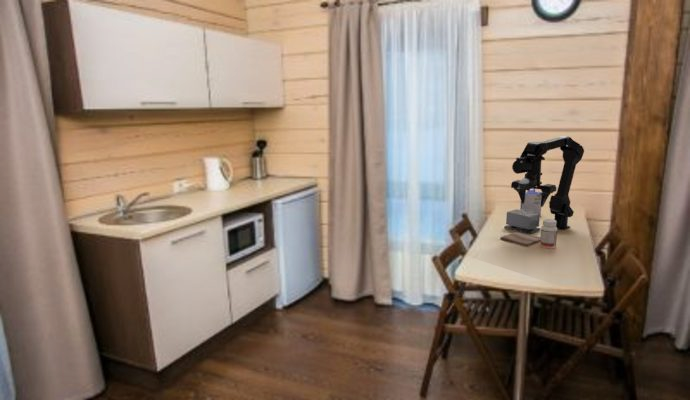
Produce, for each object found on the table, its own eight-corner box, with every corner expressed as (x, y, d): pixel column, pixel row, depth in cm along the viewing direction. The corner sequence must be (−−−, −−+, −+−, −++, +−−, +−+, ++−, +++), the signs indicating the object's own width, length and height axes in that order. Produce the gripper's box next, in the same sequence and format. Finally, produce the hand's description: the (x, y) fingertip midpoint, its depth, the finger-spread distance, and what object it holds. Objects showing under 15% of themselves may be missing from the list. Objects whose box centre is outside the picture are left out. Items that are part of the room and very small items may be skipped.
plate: (517, 233, 211) (517, 231, 210) (544, 240, 200) (544, 238, 200) (500, 239, 203) (500, 237, 203) (527, 246, 193) (527, 244, 193)
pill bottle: (547, 243, 196) (548, 217, 194) (559, 247, 191) (561, 221, 188) (536, 245, 194) (538, 219, 191) (548, 249, 188) (550, 223, 186)
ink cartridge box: (539, 214, 243) (540, 187, 240) (541, 216, 238) (543, 189, 234) (519, 213, 245) (521, 186, 242) (521, 216, 240) (522, 189, 236)
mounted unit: (515, 224, 225) (516, 208, 223) (540, 230, 214) (541, 213, 213) (504, 228, 219) (505, 212, 218) (529, 234, 209) (530, 217, 207)
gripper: (504, 171, 206) (503, 205, 209) (544, 176, 191) (542, 212, 195) (518, 167, 212) (517, 200, 216) (558, 172, 198) (555, 207, 201)
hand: (532, 205), depth 207 cm, fingers open, 9 cm apart
